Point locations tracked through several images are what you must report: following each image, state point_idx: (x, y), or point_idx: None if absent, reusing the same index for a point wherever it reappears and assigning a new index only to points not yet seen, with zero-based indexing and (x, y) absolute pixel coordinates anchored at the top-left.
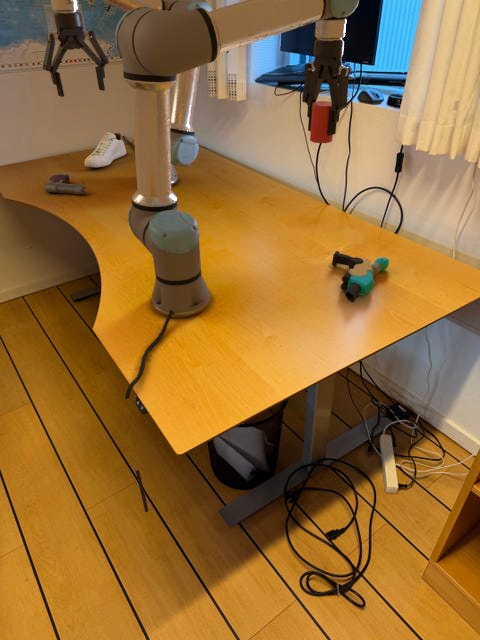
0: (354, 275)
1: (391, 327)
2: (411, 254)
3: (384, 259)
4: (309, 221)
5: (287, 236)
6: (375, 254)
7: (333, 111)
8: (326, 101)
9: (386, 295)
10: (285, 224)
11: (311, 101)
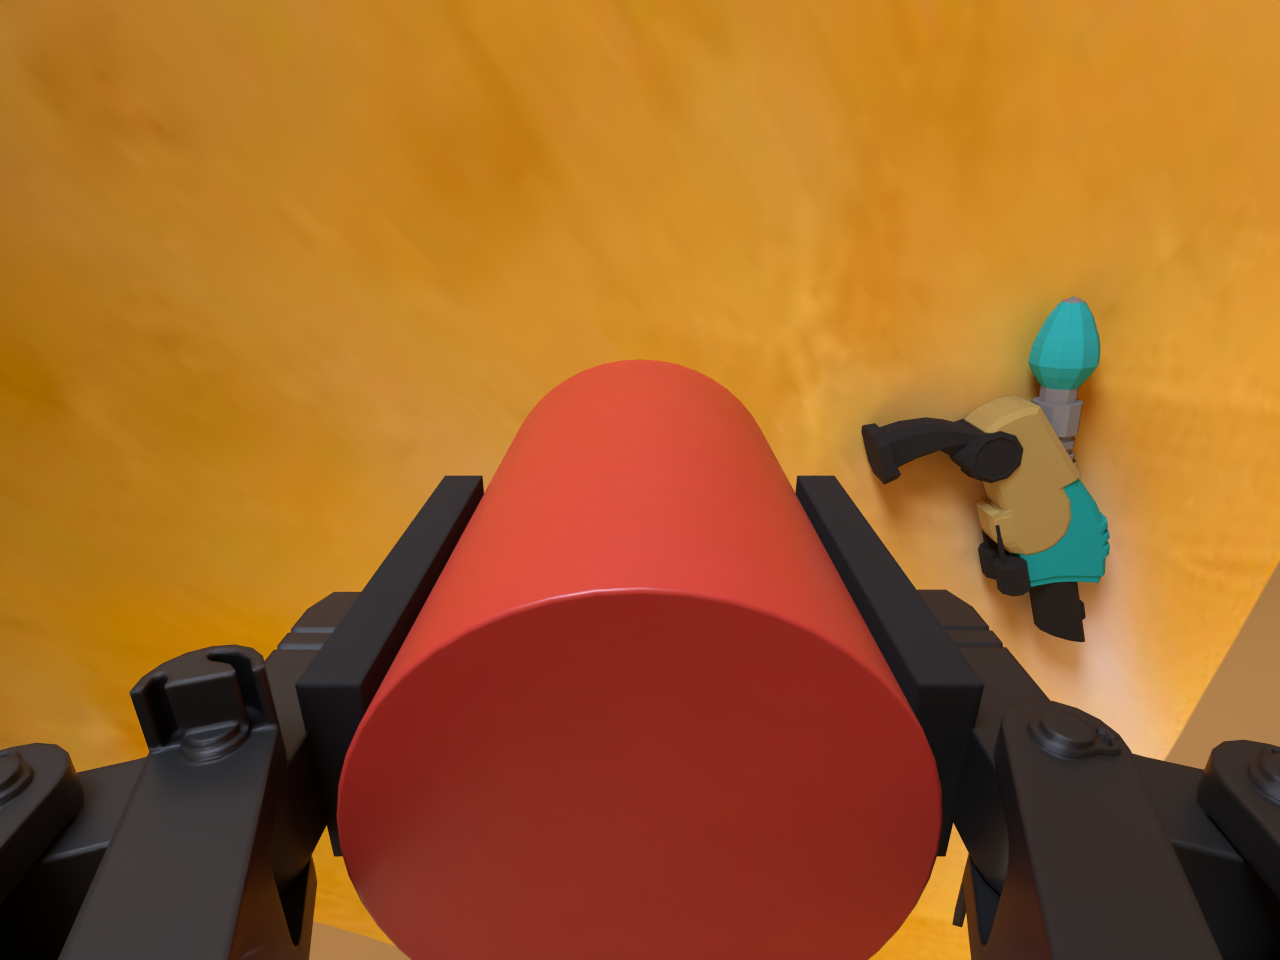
0: (1036, 552)
1: (1205, 617)
2: (1120, 86)
3: (1091, 358)
4: (490, 155)
5: (544, 383)
6: (967, 227)
7: (948, 799)
8: (506, 645)
9: (1132, 483)
10: (435, 286)
11: (306, 939)
